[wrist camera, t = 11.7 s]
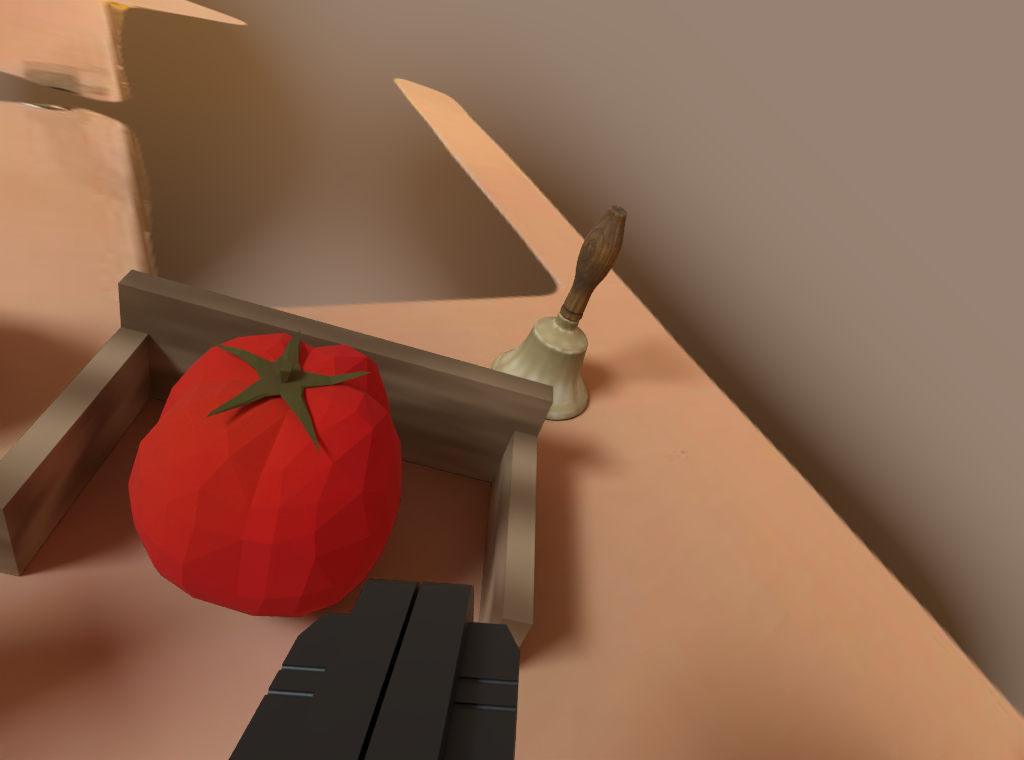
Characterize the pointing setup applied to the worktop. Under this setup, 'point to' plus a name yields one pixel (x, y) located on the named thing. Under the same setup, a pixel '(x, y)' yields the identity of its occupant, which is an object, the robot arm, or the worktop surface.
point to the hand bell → (568, 325)
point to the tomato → (270, 476)
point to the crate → (404, 370)
